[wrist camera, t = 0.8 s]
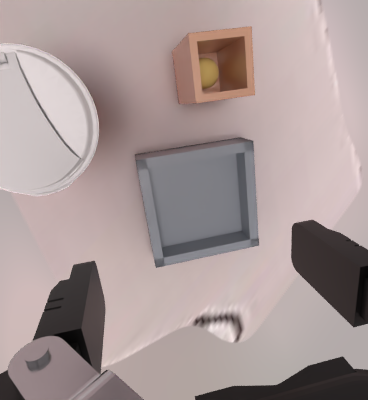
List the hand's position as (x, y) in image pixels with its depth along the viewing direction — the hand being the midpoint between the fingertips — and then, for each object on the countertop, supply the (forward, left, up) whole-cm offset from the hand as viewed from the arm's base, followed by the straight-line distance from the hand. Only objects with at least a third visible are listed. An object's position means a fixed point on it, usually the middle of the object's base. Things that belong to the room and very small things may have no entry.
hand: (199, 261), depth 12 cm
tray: (+5, +4, -22) cm, 23 cm away
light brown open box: (-8, +6, -22) cm, 24 cm away
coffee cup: (-6, -7, -22) cm, 24 cm away
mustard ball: (-8, +6, -22) cm, 24 cm away
